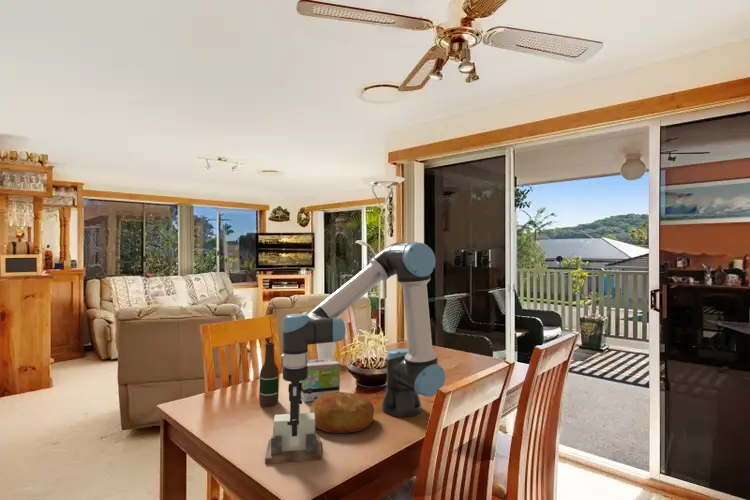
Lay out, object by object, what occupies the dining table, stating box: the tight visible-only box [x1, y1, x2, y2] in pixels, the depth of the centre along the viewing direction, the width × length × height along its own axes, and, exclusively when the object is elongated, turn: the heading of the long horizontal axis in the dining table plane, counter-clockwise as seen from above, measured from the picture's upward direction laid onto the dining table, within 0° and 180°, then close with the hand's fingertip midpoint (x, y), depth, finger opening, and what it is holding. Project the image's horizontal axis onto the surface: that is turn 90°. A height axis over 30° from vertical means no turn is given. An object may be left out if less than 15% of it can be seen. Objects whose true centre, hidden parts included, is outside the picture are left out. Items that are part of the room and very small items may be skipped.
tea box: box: [300, 357, 341, 403], centre depth 171 cm, size 15×10×15 cm, turn 111°
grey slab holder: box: [264, 423, 322, 465], centre depth 124 cm, size 16×12×6 cm
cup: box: [316, 342, 337, 359], centre depth 222 cm, size 12×12×16 cm
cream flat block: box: [273, 412, 315, 451], centre depth 124 cm, size 12×5×9 cm, turn 99°
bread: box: [309, 391, 375, 434], centre depth 146 cm, size 23×23×10 cm
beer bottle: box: [258, 342, 280, 408], centre depth 163 cm, size 8×8×24 cm
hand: (295, 435), depth 125 cm, fingers open, 13 cm apart
